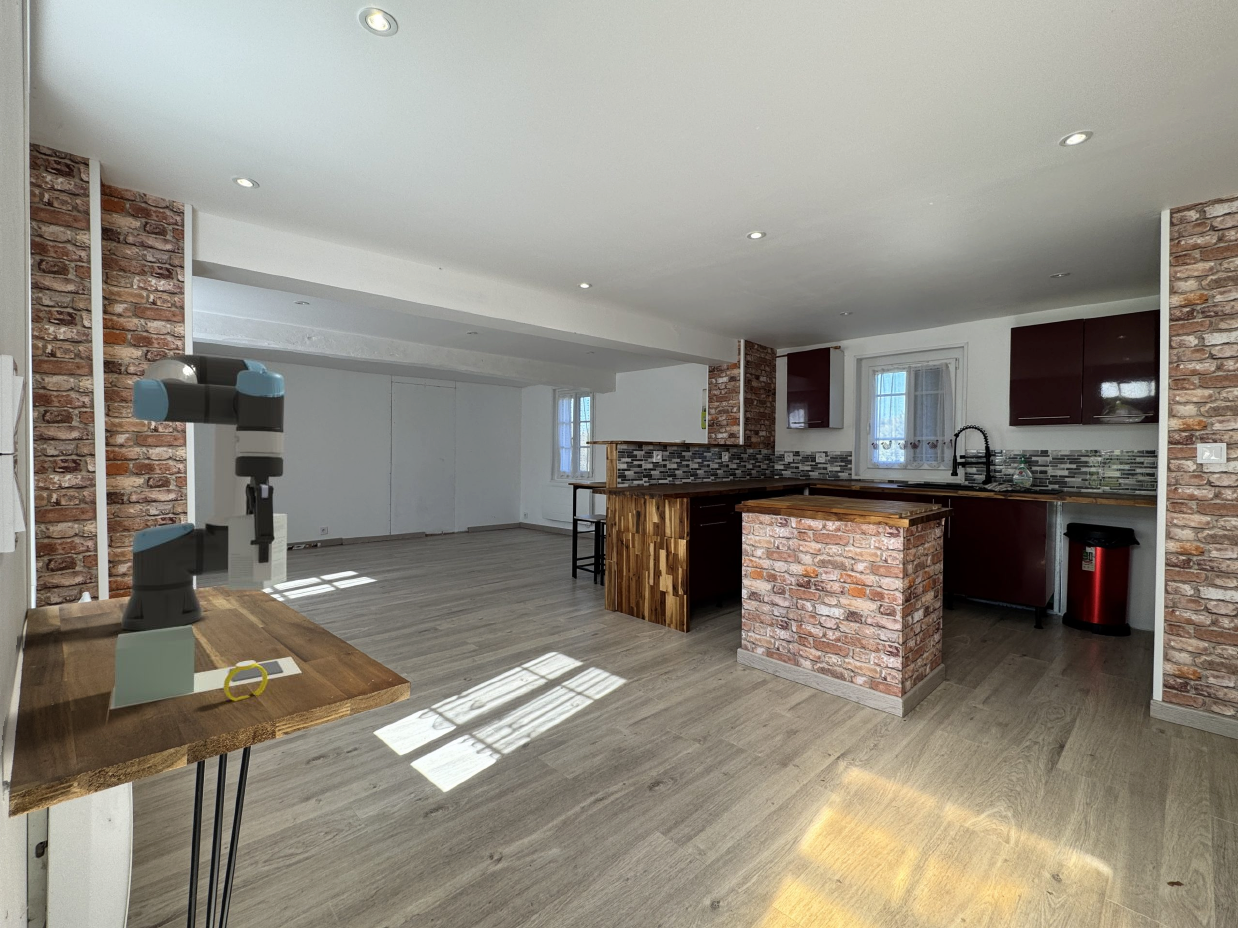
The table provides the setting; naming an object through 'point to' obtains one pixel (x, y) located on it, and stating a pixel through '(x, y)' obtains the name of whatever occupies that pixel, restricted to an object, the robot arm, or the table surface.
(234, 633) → the table surface
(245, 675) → the base
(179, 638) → the block
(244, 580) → the small box
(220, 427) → the robot arm
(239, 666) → the watch
